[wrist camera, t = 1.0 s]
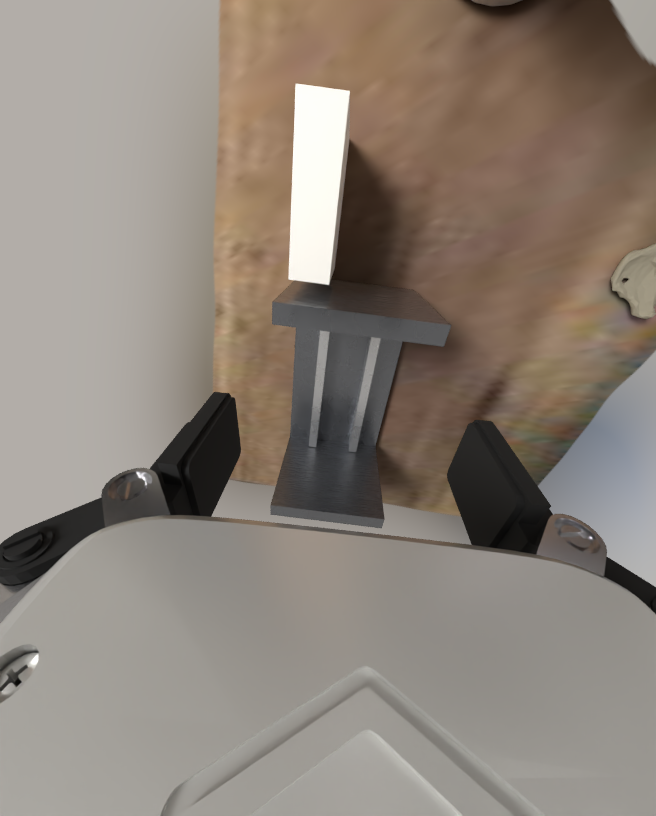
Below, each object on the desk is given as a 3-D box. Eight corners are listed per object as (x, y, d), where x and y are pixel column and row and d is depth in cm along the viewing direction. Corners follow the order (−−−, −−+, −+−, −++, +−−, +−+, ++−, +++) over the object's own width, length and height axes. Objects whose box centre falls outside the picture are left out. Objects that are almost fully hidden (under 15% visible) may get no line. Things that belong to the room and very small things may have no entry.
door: (314, 134, 24) (295, 83, 16) (349, 139, 24) (349, 91, 16) (305, 264, 30) (288, 279, 21) (334, 268, 30) (329, 284, 21)
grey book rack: (300, 274, 30) (272, 301, 19) (413, 289, 30) (451, 325, 19) (291, 439, 42) (270, 514, 31) (372, 449, 42) (381, 528, 31)
